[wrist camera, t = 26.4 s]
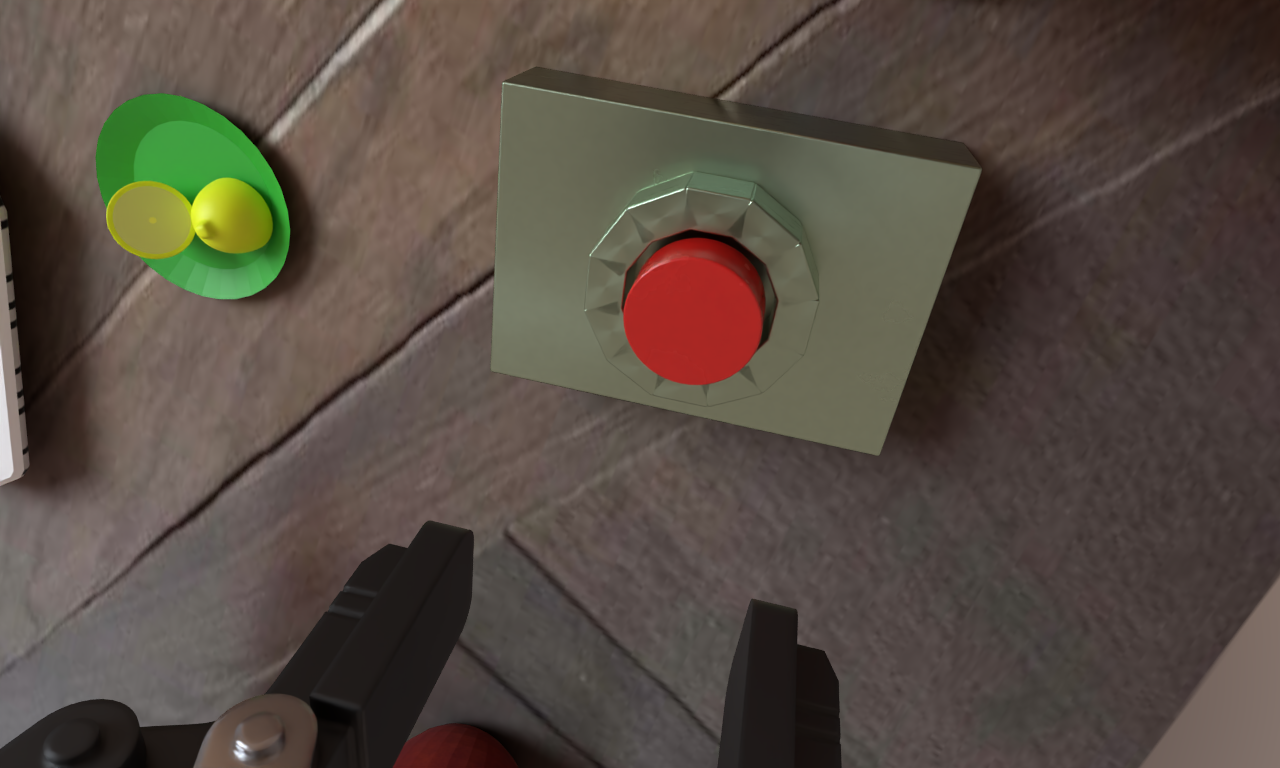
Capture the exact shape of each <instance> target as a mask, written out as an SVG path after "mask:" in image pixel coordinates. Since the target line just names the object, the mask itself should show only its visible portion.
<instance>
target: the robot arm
mask: <svg viewBox="0 0 1280 768" xmlns="http://www.w3.org/2000/svg"><path fill="white" fill-rule="evenodd" d="M473 548H474V535H473V532H472V531H471V530H468V529H463V528H459V527H455V526H451V525H447V524H443V523H438V522H434V521H427V522H426V523H425V524H424V525H423V526H422V528H421V529H420V531H419V532H418V533H417V535H416V536H415V538H414V539H413V541H412V542H411V544H410V545H409V547H408V548H405V547H401V546H397V545H393V544H388V545H386V546H385V547H383V548H382V549H380V550H379V551H377V552H376V553H374V554H373V555H371V556H370V557H368V558H367V559H366V560H364V561H363V562H361V564H360V565H359V566H358V568H357V569H356V571H355V572H354V573H353V575H352V576H351V577H350V579H349V580H348V582H347V583H346V584H345V586H344V589H343V591H340V593H339V594H338V595H337V597H336V598H335V599H334V601H333V602H332V604H331V605H330V606H329V610H328V612H325V613H324V615H323V616H322V617H321V619H320V620H319V621H318V623H317V624H316V626H315V627H314V628H313V630H312V631H311V632H310V634H309V635H308V637H307V638H306V639H305V641H304V642H303V643H302V645H301V646H300V648H299V649H298V650H297V652H296V653H295V654H294V656H293V657H292V659H291V660H290V661H289V663H288V664H287V665H286V667H285V668H284V670H283V671H282V672H281V674H280V675H279V676H278V678H277V679H276V681H275V682H274V683H273V685H272V686H271V687H270V688H269V689H268V691H267V692H266V693H265V694H264V695H260V696H256V697H253V698H250V699H247V700H245V701H242V702H240V703H238V704H236V705H235V706H233V707H232V708H230V709H229V710H227V711H226V712H225V713H224V714H222V715H221V716H220V717H219V718H218V719H217V720H216V721H213V722H209V723H202V724H189V725H169V726H150V727H140V726H139V722H138V719H137V716H136V715H135V713H134V712H133V710H132V709H130V708H129V707H128V706H127V705H125V704H123V703H121V702H117V701H114V700H106V699H96V700H88V701H82V702H78V703H75V704H71V705H69V706H66V707H64V708H61V709H59V710H57V711H55V712H53V713H51V714H49V715H48V716H46V717H45V718H43V719H41V720H40V721H38V722H37V723H36V724H34V725H33V726H31V727H30V728H29V729H27V730H26V731H24V732H23V733H22V734H20V735H19V736H18V737H16V738H15V739H13V740H12V741H11V742H9V743H8V744H6V745H5V746H4V747H2V748H1V749H0V768H393V766H394V764H395V762H396V760H397V758H398V756H399V754H400V752H401V750H402V748H403V746H404V744H405V742H406V740H407V739H408V737H409V735H410V733H411V731H412V729H413V727H414V725H415V723H416V721H417V719H418V717H419V715H420V713H421V711H422V709H423V707H424V705H425V703H426V701H427V699H428V697H429V695H430V693H431V691H432V689H433V687H434V685H435V684H436V682H437V680H438V678H439V676H440V674H441V672H442V670H443V668H444V666H445V664H446V662H447V660H448V658H449V656H450V654H451V652H452V650H453V648H454V646H455V644H456V642H457V640H458V638H459V636H460V634H461V632H462V630H463V628H464V625H465V622H466V619H467V616H468V613H469V609H470V604H471V598H472V577H473ZM797 627H798V614H797V610H796V609H793V608H789V607H785V606H781V605H777V604H772V603H768V602H764V601H760V600H756V599H751V601H750V604H749V607H748V610H747V614H746V617H745V621H744V624H743V628H742V631H741V635H740V638H739V641H738V645H737V648H736V652H735V655H734V659H733V662H732V667H731V671H730V676H729V681H728V686H727V692H726V699H725V707H724V716H723V724H722V733H721V741H720V750H719V759H718V767H717V768H841V744H840V718H839V712H840V709H839V681H838V679H837V677H836V675H835V672H834V670H833V668H832V666H831V664H830V662H829V660H828V658H827V655H826V653H825V651H823V650H819V649H815V648H810V647H806V646H802V645H798V644H797Z"/></svg>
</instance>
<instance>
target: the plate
mask: <svg viewBox="0 0 1280 768" xmlns="http://www.w3.org/2000/svg"><path fill="white" fill-rule="evenodd" d="M29 466H30V463H29V452H28V441H27V430H26V419H25V407H24V396H23V385H22V374H21V363H20V352H19V341H18V330H17V318H16V307H15V296H14V285H13V274H12V262H11V251H10V240H9V229H8V218H7V210H6V208H5V206H4V204H3V201H2V199H1V197H0V486H1V485H4V484H6V483H9V482H11V481H14V480H16V479H19V478H20V477H23V476H24V475H25V473H26V471H27V470H28V468H29Z"/></svg>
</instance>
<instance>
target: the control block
mask: <svg viewBox="0 0 1280 768" xmlns="http://www.w3.org/2000/svg"><path fill="white" fill-rule="evenodd" d="M981 172H982V167H981V166H980V165H979V163H978V162H977V161H976V159H975V158H974V157H973V155H972V154H971V153H970V151H969V150H968V148H967V147H966V146H965V144H964V143H961V142H955V141H950V140H944V139H938V138H933V137H927V136H921V135H916V134H910V133H905V132H899V131H893V130H888V129H882V128H877V127H871V126H865V125H860V124H854V123H849V122H843V121H837V120H832V119H826V118H820V117H815V116H809V115H804V114H798V113H792V112H787V111H781V110H776V109H770V108H764V107H759V106H753V105H747V104H742V103H736V102H731V101H725V100H719V99H714V98H708V97H703V96H697V95H691V94H686V93H680V92H675V91H669V90H663V89H658V88H652V87H646V86H641V85H635V84H630V83H624V82H618V81H613V80H607V79H602V78H596V77H590V76H585V75H579V74H574V73H568V72H562V71H557V70H551V69H545V68H540V67H534V68H532V69H529V70H527V71H525V72H523V73H521V74H518V75H516V76H514V77H512V78H510V79H507V80H505V81H503V83H502V100H501V124H500V148H499V172H498V196H497V220H496V244H495V268H494V292H493V316H492V340H491V364H490V370H491V371H492V372H496V373H500V374H505V375H510V376H514V377H519V378H523V379H528V380H532V381H537V382H542V383H546V384H551V385H555V386H560V387H565V388H569V389H574V390H578V391H583V392H587V393H592V394H597V395H601V396H606V397H610V398H615V399H619V400H624V401H629V402H633V403H638V404H642V405H647V406H651V407H656V408H661V409H665V410H670V411H674V412H679V413H684V414H688V415H693V416H697V417H702V418H706V419H711V420H716V421H720V422H725V423H729V424H734V425H738V426H743V427H748V428H752V429H757V430H761V431H766V432H770V433H775V434H780V435H784V436H789V437H793V438H798V439H803V440H807V441H812V442H816V443H821V444H825V445H830V446H835V447H839V448H844V449H848V450H853V451H857V452H862V453H867V454H871V455H876V456H879V455H880V453H881V450H882V448H883V445H884V442H885V439H886V437H887V434H888V431H889V428H890V425H891V423H892V420H893V417H894V414H895V411H896V409H897V406H898V403H899V400H900V398H901V395H902V392H903V389H904V386H905V384H906V381H907V378H908V375H909V372H910V370H911V367H912V364H913V361H914V359H915V356H916V353H917V350H918V347H919V345H920V342H921V339H922V336H923V334H924V331H925V328H926V325H927V322H928V320H929V317H930V314H931V311H932V308H933V306H934V303H935V300H936V297H937V295H938V292H939V289H940V286H941V283H942V281H943V278H944V275H945V272H946V269H947V267H948V264H949V261H950V258H951V256H952V253H953V250H954V247H955V244H956V242H957V239H958V236H959V233H960V230H961V228H962V225H963V222H964V219H965V217H966V214H967V211H968V208H969V205H970V203H971V200H972V197H973V194H974V191H975V189H976V186H977V183H978V180H979V178H980V175H981ZM687 238H707V239H712V240H716V241H720V242H722V243H725V244H727V245H729V246H731V247H733V248H735V249H736V250H738V251H739V252H740V253H742V254H743V255H744V256H745V257H746V258H747V259H748V260H749V261H750V262H751V263H752V265H753V266H754V267H755V269H756V270H757V272H758V274H759V276H760V278H761V280H762V283H763V286H764V290H765V297H766V307H765V315H764V322H763V330H762V336H761V340H760V343H759V346H758V348H757V350H756V352H755V354H754V356H753V357H752V358H751V360H750V361H749V362H748V363H747V364H746V366H745V367H743V368H742V369H741V370H740V371H739V372H737V373H736V374H734V375H733V376H731V377H729V378H727V379H725V380H722V381H719V382H716V383H712V384H707V385H687V384H681V383H677V382H673V381H670V380H668V379H665V378H663V377H661V376H659V375H658V374H656V373H654V372H653V371H652V370H650V369H649V368H648V367H647V366H646V365H644V364H643V363H642V362H641V360H640V359H639V358H638V357H637V356H636V354H635V353H634V351H633V350H632V348H631V346H630V344H629V342H628V339H627V337H626V334H625V329H624V322H623V312H624V306H625V301H626V298H627V296H628V293H629V291H630V289H631V287H632V285H633V284H634V282H635V280H636V278H637V276H638V274H639V272H640V270H641V268H642V267H643V265H644V264H645V262H646V261H647V260H648V259H649V258H650V257H651V256H652V255H653V254H654V253H655V252H656V251H658V250H659V249H660V248H662V247H664V246H665V245H667V244H670V243H672V242H675V241H678V240H682V239H687Z"/></svg>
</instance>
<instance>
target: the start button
mask: <svg viewBox="0 0 1280 768" xmlns="http://www.w3.org/2000/svg"><path fill="white" fill-rule="evenodd" d="M765 307H766V297H765V290H764V286H763V283H762V280H761V278H760V276H759V274H758V272H757V270H756V269H755V267H754V266H753V265H752V263H751V262H750V261H749V260H748V259H747V258H746V257H745V256H744V255H743V254H742V253H740V252H739V251H738V250H736V249H735V248H733V247H731V246H729V245H727V244H725V243H722V242H720V241H716V240H712V239H707V238H687V239H682V240H678V241H675V242H672V243H670V244H667V245H665V246H664V247H662V248H660V249H659V250H658V251H656V252H655V253H654V254H653V255H652V256H651V257H650V258H649V259H648V260H647V261H646V262H645V264H644V265H643V267H642V268H641V270H640V272H639V274H638V276H637V278H636V280H635V282H634V284H633V285H632V287H631V289H630V291H629V293H628V296H627V298H626V301H625V306H624V312H623V322H624V329H625V334H626V337H627V339H628V342H629V344H630V346H631V348H632V350H633V351H634V353H635V354H636V356H637V357H638V358H639V359H640V360H641V362H642V363H643V364H644V365H646V366H647V367H648V368H649V369H650V370H652V371H653V372H654V373H656V374H658V375H659V376H661V377H663V378H665V379H668V380H670V381H673V382H677V383H681V384H687V385H707V384H712V383H716V382H719V381H722V380H725V379H727V378H729V377H731V376H733V375H734V374H736V373H737V372H739V371H740V370H741V369H742V368H743V367H745V366H746V364H747V363H748V362H749V361H750V360H751V358H752V357H753V356H754V354H755V352H756V350H757V348H758V346H759V343H760V340H761V336H762V330H763V322H764V315H765Z"/></svg>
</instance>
